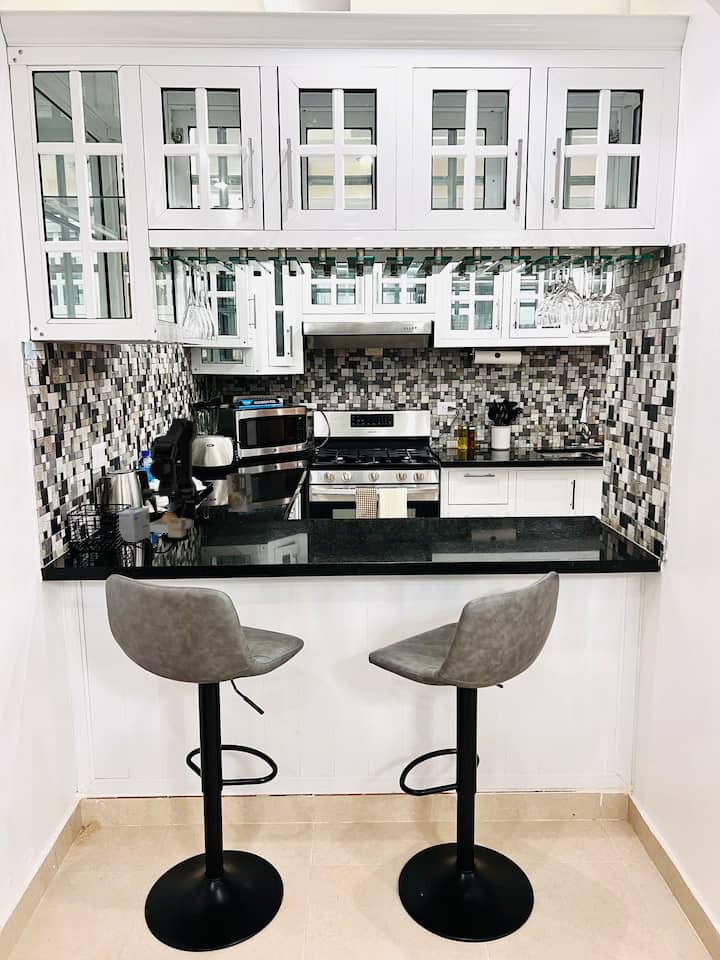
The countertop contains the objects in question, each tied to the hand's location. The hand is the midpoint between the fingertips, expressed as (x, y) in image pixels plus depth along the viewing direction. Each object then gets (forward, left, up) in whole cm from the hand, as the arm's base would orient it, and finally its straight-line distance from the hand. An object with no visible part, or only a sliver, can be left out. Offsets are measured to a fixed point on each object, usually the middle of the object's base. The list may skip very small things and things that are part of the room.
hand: (169, 515), depth 268 cm
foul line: (+7, 0, -6) cm, 9 cm away
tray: (0, 0, -6) cm, 6 cm away
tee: (+11, +7, -6) cm, 14 cm away
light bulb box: (+17, -6, -6) cm, 19 cm away
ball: (0, 0, -2) cm, 2 cm away
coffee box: (-40, +15, -6) cm, 44 cm away
